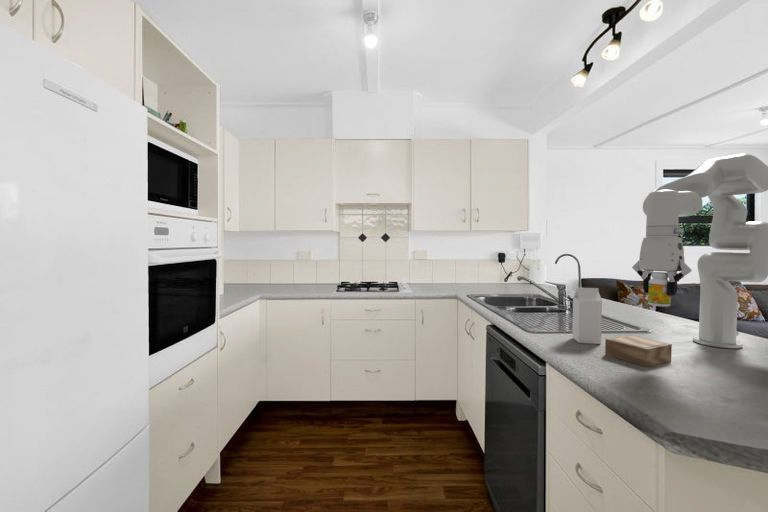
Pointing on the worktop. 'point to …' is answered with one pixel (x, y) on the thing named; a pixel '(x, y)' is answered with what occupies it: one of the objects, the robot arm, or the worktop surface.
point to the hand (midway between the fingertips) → (659, 293)
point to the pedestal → (638, 350)
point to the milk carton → (587, 315)
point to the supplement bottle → (658, 290)
